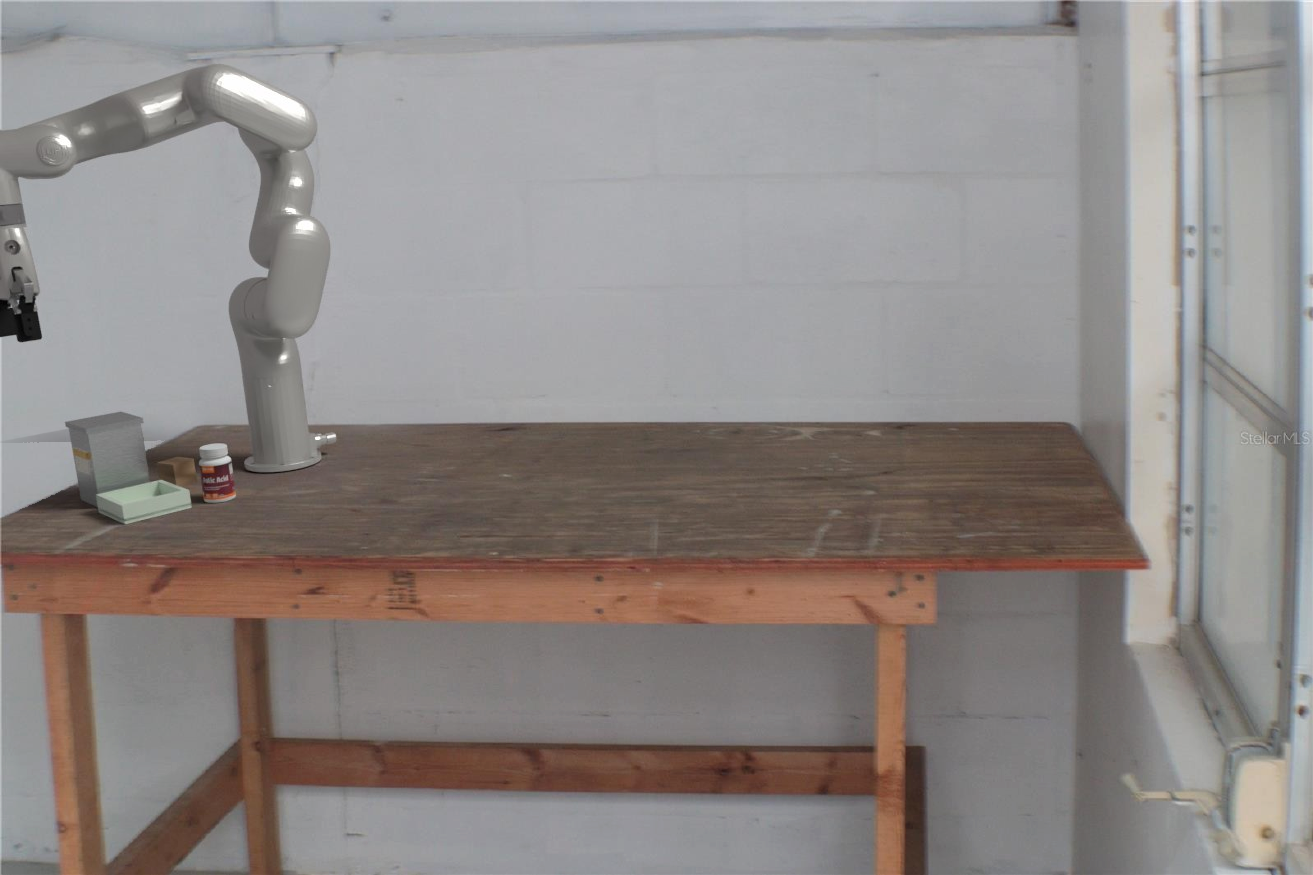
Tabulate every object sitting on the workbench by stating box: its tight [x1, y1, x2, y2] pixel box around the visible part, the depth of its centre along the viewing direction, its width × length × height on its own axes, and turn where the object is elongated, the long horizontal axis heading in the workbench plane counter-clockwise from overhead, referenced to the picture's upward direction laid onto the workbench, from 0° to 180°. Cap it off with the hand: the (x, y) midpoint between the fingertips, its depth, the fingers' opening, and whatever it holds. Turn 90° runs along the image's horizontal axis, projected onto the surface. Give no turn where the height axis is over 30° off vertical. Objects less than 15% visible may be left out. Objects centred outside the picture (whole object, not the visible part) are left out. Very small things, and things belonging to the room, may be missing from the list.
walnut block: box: [156, 456, 198, 488], centre depth 197 cm, size 4×4×4 cm
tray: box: [96, 479, 193, 525], centre depth 183 cm, size 10×10×3 cm
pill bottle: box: [198, 442, 237, 504], centre depth 186 cm, size 5×5×8 cm
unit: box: [64, 411, 151, 508], centre depth 189 cm, size 9×9×13 cm
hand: (18, 338), depth 176 cm, fingers open, 9 cm apart
